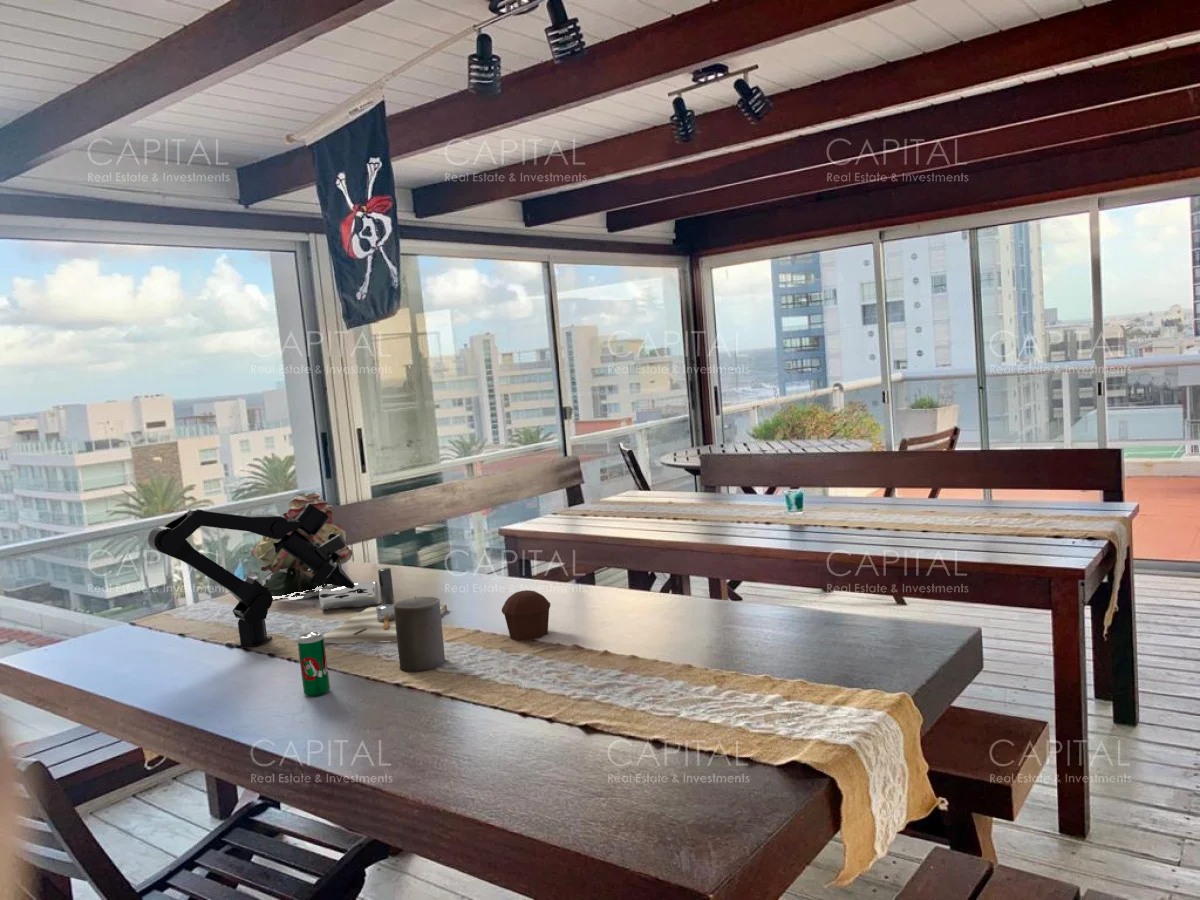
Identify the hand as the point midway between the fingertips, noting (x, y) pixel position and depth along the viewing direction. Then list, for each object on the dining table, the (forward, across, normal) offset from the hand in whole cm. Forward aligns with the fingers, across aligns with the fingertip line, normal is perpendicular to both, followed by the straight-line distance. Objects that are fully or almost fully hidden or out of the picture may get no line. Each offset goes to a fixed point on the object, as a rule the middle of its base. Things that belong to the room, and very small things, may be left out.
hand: (354, 587), depth 231 cm
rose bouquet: (-5, +45, +18) cm, 49 cm away
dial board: (+12, -8, +1) cm, 14 cm away
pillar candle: (+19, -43, -5) cm, 47 cm away
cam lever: (+11, -7, 0) cm, 13 cm away
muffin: (+36, -32, -22) cm, 53 cm away
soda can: (+4, -51, +10) cm, 52 cm away
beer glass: (-3, +19, +12) cm, 23 cm away
